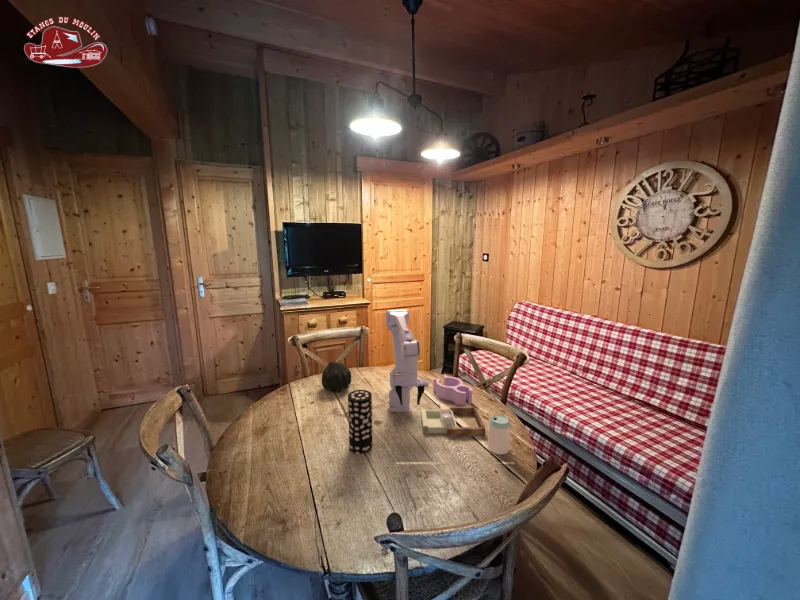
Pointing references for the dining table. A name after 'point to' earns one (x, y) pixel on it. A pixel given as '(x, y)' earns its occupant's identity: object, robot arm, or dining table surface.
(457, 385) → the clip
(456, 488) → the dining table surface
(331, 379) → the squash
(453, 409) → the rack
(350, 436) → the spotted tube
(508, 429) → the can
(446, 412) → the pale pink cylinder
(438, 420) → the tray
